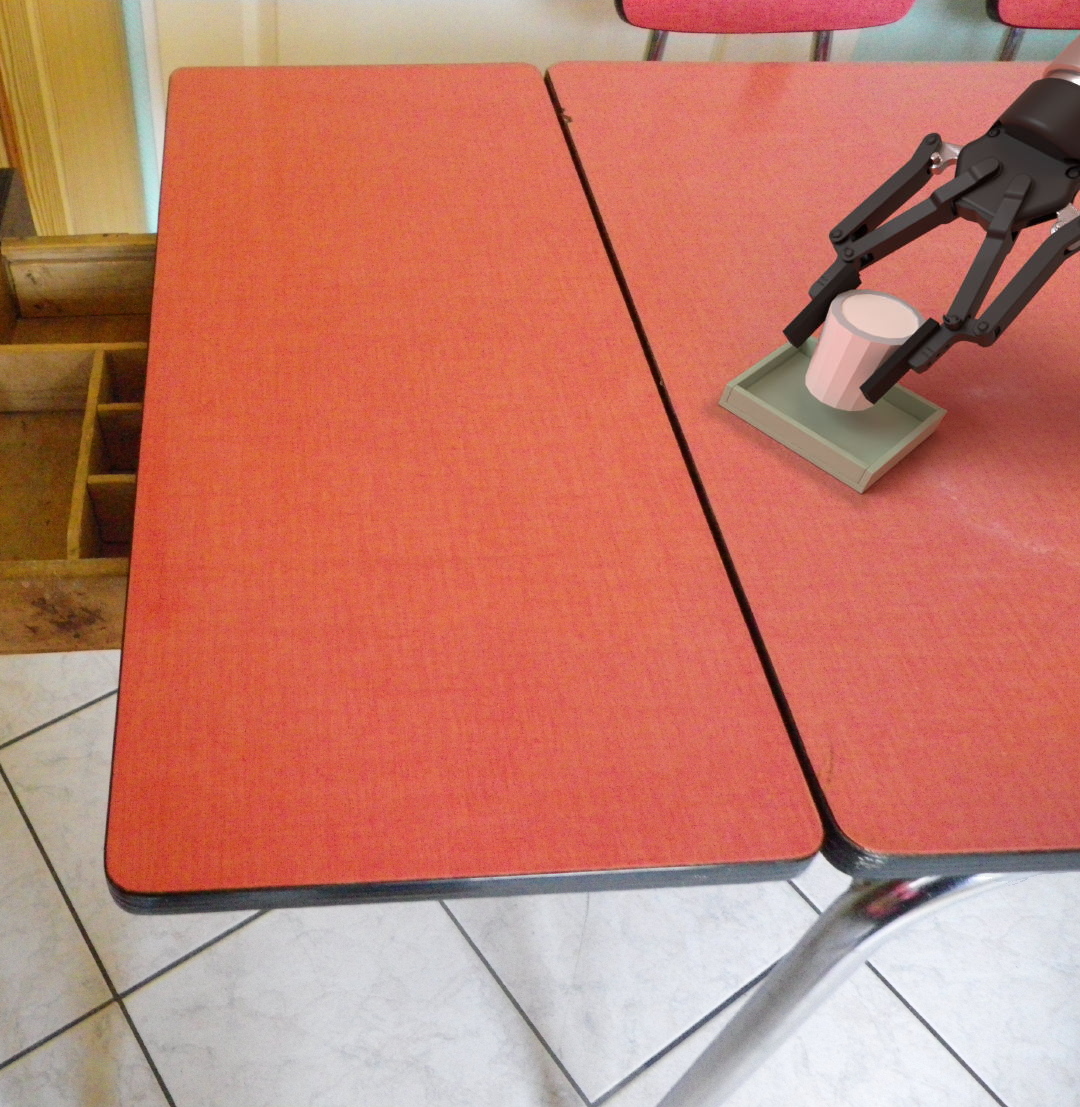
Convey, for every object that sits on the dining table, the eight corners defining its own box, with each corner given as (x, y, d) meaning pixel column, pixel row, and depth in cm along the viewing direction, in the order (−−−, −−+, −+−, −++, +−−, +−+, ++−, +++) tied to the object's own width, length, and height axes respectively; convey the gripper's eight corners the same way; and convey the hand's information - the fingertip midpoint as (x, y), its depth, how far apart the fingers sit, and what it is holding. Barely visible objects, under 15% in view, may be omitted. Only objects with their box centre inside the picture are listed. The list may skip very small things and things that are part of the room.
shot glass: (828, 349, 84) (863, 276, 78) (903, 392, 80) (946, 320, 75) (779, 382, 81) (813, 309, 75) (855, 428, 77) (896, 356, 72)
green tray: (934, 431, 82) (947, 410, 81) (861, 494, 77) (873, 473, 76) (794, 350, 89) (803, 330, 87) (717, 404, 84) (726, 383, 82)
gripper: (1218, 202, 68) (941, 460, 74) (967, 81, 78) (746, 316, 85) (1229, 145, 62) (928, 431, 68) (956, 22, 72) (719, 280, 79)
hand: (827, 367), depth 77 cm, fingers closed on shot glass, 7 cm apart
